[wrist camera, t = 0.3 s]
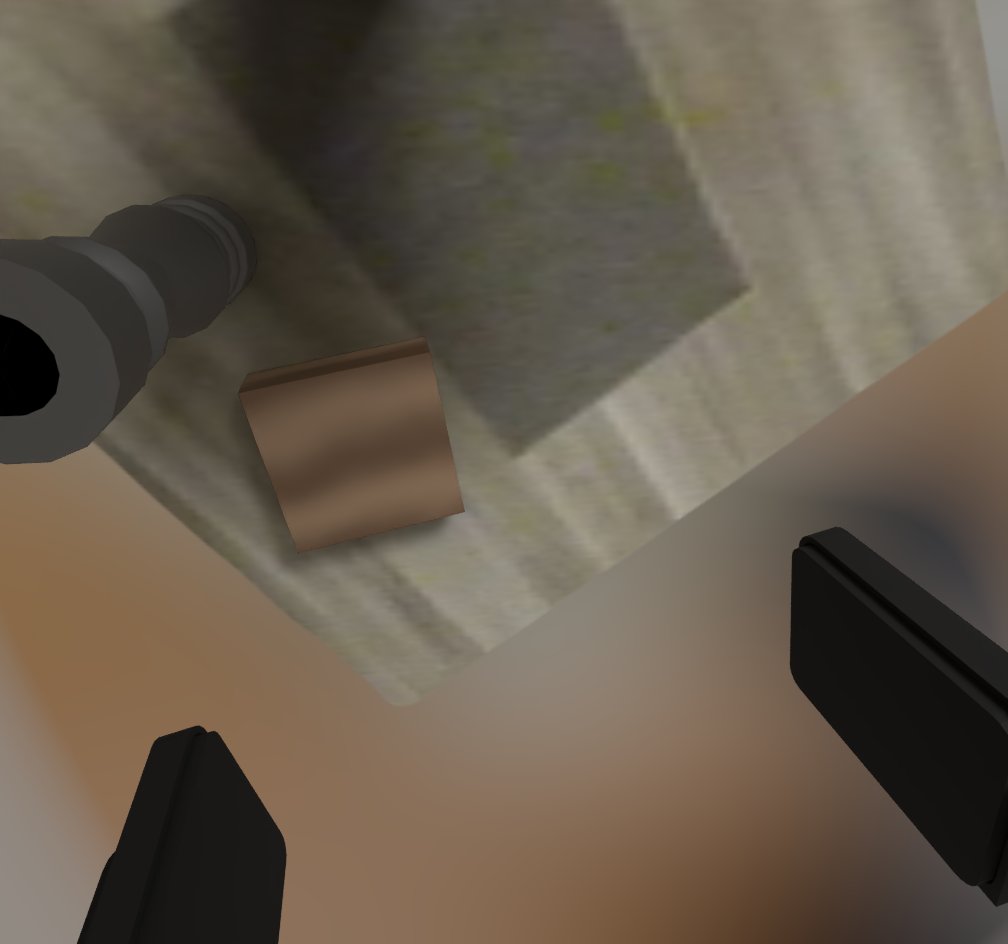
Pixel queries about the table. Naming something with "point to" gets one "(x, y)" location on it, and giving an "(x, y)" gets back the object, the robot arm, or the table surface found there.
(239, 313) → the table surface
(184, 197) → the candle holder
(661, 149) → the table surface
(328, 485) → the walnut plinth
